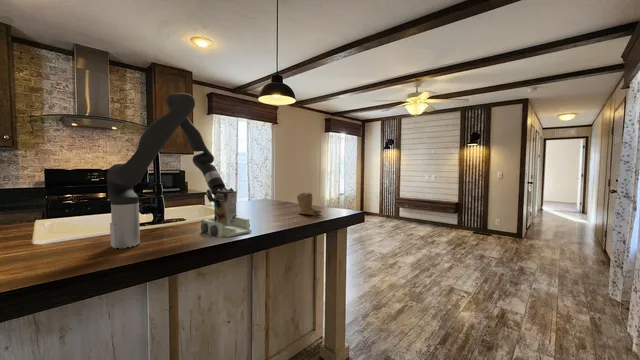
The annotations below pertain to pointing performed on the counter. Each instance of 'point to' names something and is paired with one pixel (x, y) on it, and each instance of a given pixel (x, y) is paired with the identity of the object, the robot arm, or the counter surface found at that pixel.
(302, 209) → the brown boot
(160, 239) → the counter surface
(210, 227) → the cart bed
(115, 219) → the robot arm
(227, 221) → the coffee box
